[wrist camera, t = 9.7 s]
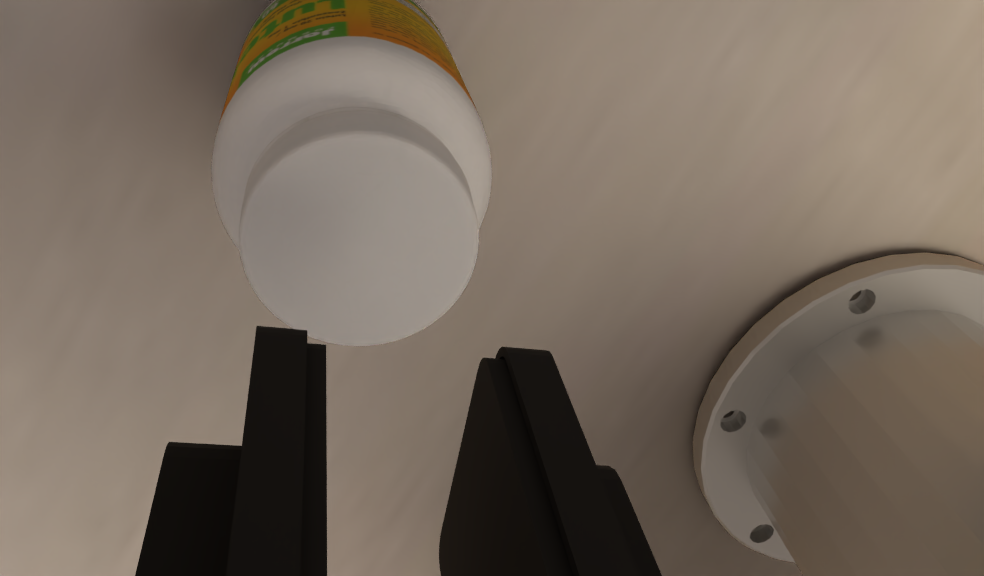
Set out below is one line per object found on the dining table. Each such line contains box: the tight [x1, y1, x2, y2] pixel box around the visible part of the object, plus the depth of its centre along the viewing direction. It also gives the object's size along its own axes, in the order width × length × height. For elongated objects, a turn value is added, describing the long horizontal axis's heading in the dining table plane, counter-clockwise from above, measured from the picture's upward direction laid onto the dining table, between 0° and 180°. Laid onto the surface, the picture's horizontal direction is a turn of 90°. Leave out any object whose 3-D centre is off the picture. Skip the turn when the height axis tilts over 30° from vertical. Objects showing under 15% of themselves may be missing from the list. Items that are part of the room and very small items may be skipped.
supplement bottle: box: [211, 0, 492, 346], centre depth 19 cm, size 5×5×10 cm
